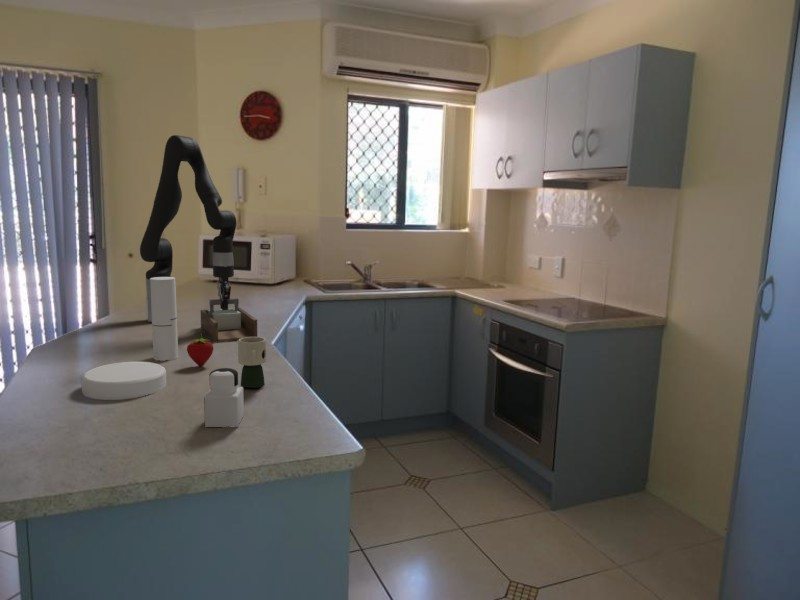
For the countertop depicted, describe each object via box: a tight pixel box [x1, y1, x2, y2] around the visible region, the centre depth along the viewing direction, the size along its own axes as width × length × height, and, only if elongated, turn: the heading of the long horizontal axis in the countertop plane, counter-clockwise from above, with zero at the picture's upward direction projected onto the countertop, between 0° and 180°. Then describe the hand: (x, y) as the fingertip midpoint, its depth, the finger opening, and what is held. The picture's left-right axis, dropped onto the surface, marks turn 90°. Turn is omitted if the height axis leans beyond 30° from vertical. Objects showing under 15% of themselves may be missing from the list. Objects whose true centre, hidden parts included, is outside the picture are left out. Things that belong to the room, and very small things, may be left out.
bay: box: [200, 307, 258, 343], centre depth 213 cm, size 15×26×7 cm, turn 29°
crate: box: [207, 297, 241, 330], centre depth 217 cm, size 10×10×11 cm
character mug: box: [237, 336, 267, 389], centre depth 152 cm, size 11×7×13 cm, turn 18°
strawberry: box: [186, 334, 215, 367], centre depth 169 cm, size 6×8×10 cm
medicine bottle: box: [203, 367, 245, 428], centre depth 127 cm, size 7×7×12 cm
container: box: [80, 361, 167, 401], centre depth 149 cm, size 20×20×5 cm
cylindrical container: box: [150, 276, 179, 362], centre depth 176 cm, size 7×7×25 cm
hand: (224, 309), depth 217 cm, fingers closed on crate, 2 cm apart
